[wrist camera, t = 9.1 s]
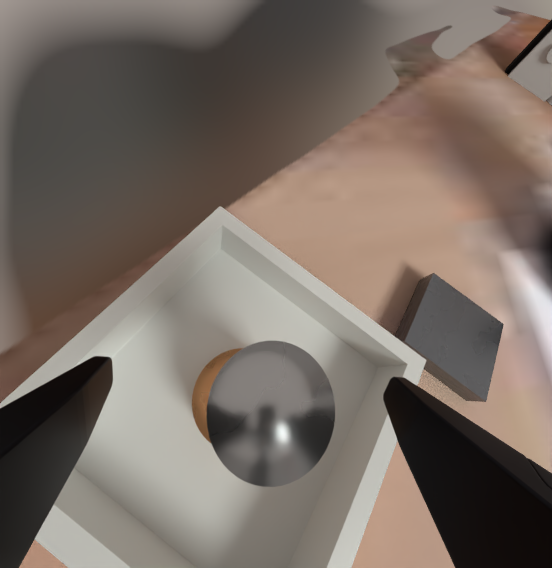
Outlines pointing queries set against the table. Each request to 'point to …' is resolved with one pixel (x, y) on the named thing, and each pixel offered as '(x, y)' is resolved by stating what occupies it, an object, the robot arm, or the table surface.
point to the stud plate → (452, 337)
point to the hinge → (535, 65)
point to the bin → (185, 434)
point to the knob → (265, 411)
